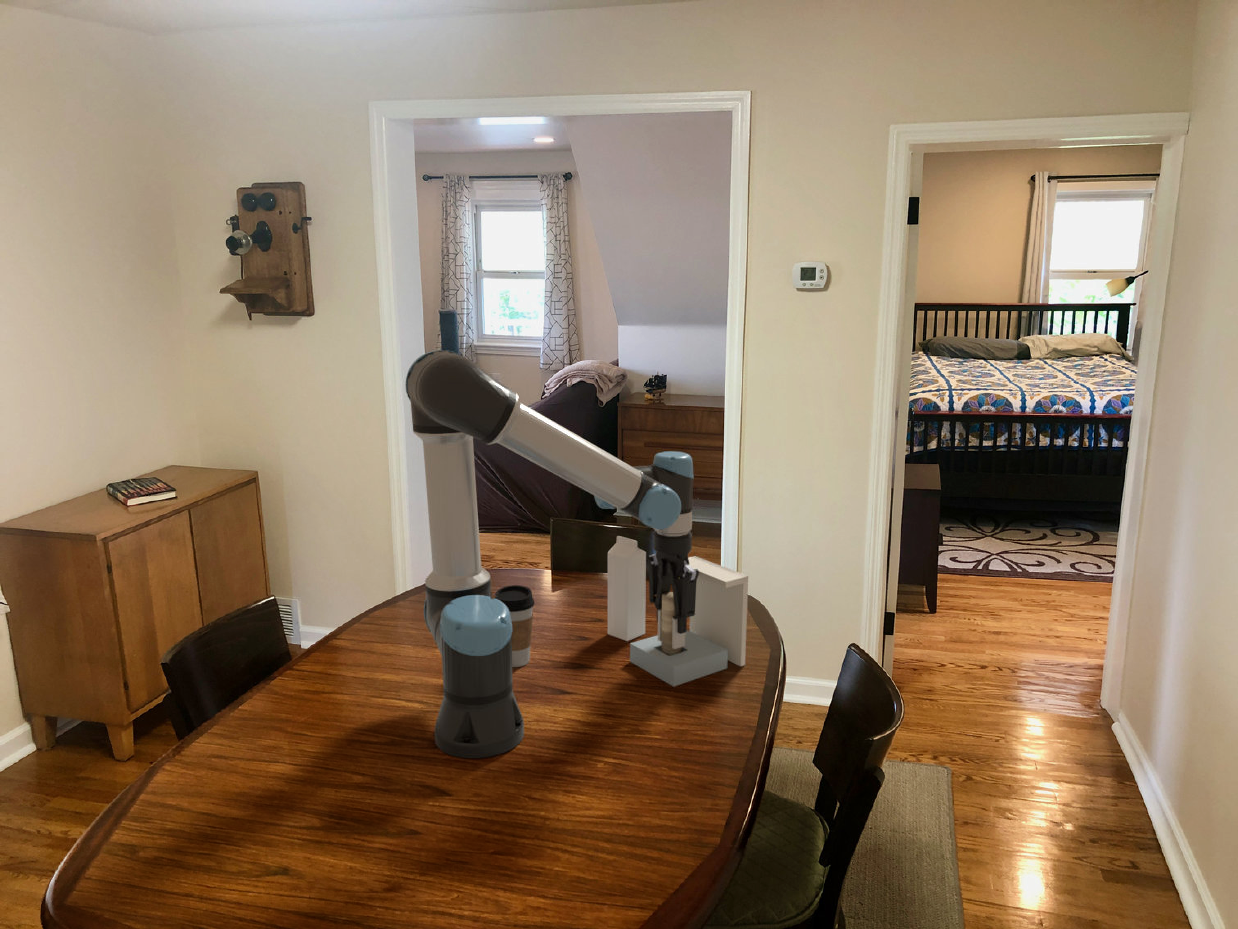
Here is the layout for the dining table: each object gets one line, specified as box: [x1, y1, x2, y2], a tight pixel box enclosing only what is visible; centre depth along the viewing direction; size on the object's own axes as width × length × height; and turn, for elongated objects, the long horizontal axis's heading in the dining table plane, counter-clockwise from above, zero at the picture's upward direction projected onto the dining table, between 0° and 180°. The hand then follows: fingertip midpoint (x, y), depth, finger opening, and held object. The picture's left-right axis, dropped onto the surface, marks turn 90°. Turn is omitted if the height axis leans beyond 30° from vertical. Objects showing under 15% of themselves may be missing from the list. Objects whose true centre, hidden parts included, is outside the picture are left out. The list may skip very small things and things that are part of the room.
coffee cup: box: [494, 584, 535, 668], centre depth 181 cm, size 8×8×15 cm
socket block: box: [629, 629, 729, 687], centre depth 181 cm, size 14×14×4 cm
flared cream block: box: [688, 555, 749, 667], centre depth 184 cm, size 6×16×19 cm, turn 36°
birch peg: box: [661, 591, 681, 656], centre depth 178 cm, size 4×4×14 cm
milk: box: [607, 535, 647, 642], centre depth 194 cm, size 6×6×22 cm
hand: (671, 642), depth 179 cm, fingers closed on birch peg, 4 cm apart
